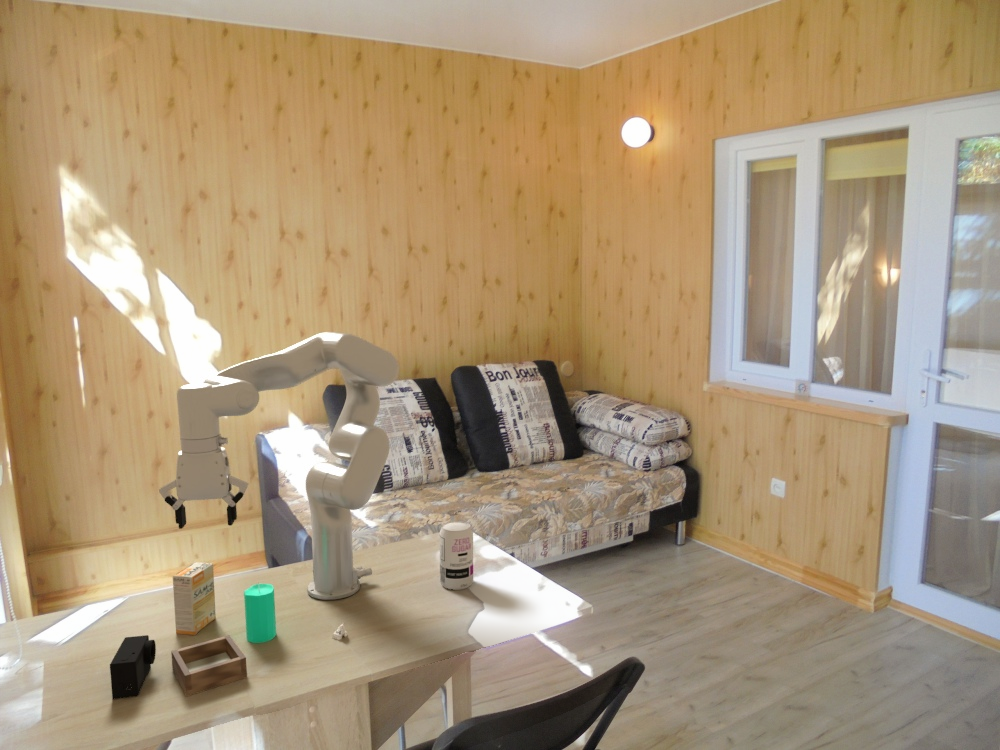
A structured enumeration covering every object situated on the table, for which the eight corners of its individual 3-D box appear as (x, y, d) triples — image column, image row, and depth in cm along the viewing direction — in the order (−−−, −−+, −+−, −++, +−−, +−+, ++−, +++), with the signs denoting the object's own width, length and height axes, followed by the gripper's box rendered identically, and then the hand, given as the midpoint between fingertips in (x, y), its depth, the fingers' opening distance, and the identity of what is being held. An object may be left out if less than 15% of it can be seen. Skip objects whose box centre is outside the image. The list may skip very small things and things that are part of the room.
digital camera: (144, 696, 136) (142, 660, 135) (112, 700, 135) (109, 664, 134) (157, 667, 146) (155, 633, 145) (127, 670, 145) (125, 636, 144)
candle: (267, 626, 162) (265, 574, 161) (281, 636, 158) (278, 582, 156) (241, 636, 158) (238, 582, 157) (254, 646, 154) (251, 591, 152)
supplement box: (195, 636, 158) (191, 577, 156) (175, 633, 159) (171, 575, 157) (217, 618, 166) (214, 562, 165) (198, 616, 167) (194, 561, 165)
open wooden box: (230, 653, 151) (229, 634, 150) (247, 677, 142) (246, 657, 142) (172, 670, 145) (171, 651, 144) (186, 696, 136) (185, 675, 135)
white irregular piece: (341, 642, 156) (341, 628, 156) (330, 640, 157) (330, 626, 157) (348, 635, 159) (348, 622, 159) (338, 634, 160) (337, 620, 160)
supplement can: (454, 574, 190) (453, 518, 188) (480, 582, 185) (479, 524, 183) (433, 585, 183) (432, 527, 181) (459, 594, 179) (458, 534, 177)
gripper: (248, 438, 156) (253, 516, 159) (161, 442, 153) (168, 521, 156) (241, 446, 149) (247, 528, 151) (150, 451, 146) (157, 534, 149)
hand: (207, 524), depth 154 cm, fingers open, 9 cm apart
